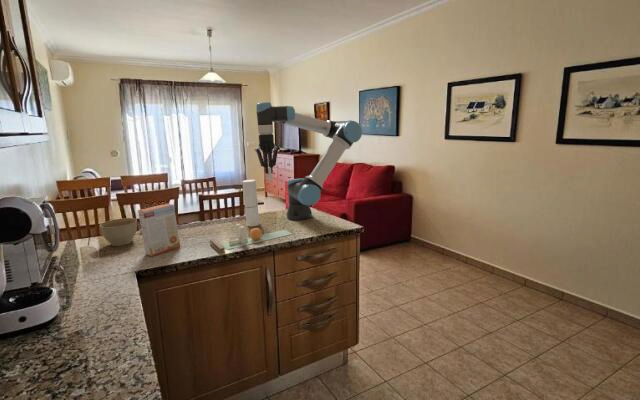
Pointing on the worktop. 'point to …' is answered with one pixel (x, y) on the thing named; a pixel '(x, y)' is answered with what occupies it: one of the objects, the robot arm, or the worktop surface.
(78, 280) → the worktop surface
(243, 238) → the pin back left
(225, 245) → the lane
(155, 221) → the cracker box
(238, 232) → the pin back right
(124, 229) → the planter bowl
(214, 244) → the backstop
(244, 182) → the cylindrical container
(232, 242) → the pin front
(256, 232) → the ball
